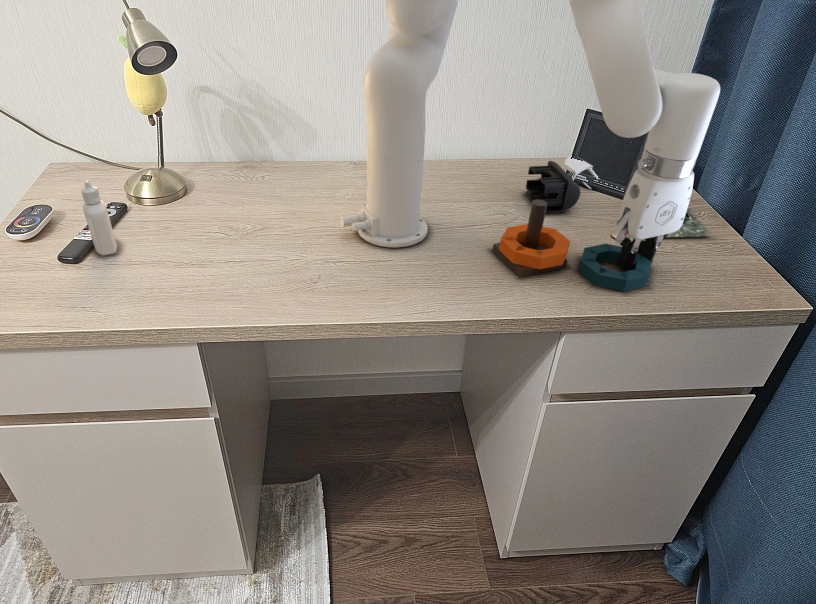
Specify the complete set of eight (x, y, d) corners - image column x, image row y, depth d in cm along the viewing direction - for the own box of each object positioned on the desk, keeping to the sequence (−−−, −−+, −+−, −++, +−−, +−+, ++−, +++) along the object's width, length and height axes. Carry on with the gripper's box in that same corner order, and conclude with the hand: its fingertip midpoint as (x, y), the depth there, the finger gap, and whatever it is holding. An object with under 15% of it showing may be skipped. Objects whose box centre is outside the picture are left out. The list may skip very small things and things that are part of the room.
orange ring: (522, 272, 98) (524, 261, 97) (489, 241, 106) (491, 229, 105) (578, 261, 102) (581, 250, 100) (543, 231, 109) (545, 220, 108)
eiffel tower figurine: (629, 202, 123) (648, 136, 115) (678, 202, 124) (701, 137, 116) (659, 239, 112) (683, 169, 103) (713, 239, 112) (741, 169, 104)
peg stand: (520, 277, 100) (531, 219, 94) (492, 251, 106) (500, 195, 100) (565, 267, 103) (579, 210, 96) (535, 242, 109) (547, 187, 103)
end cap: (576, 213, 119) (584, 180, 114) (541, 215, 118) (548, 182, 113) (556, 191, 126) (563, 159, 122) (523, 193, 125) (529, 161, 121)
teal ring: (607, 295, 97) (611, 284, 95) (566, 262, 104) (569, 250, 103) (660, 282, 100) (664, 271, 99) (617, 251, 108) (620, 240, 106)
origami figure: (602, 196, 125) (608, 173, 122) (562, 196, 124) (567, 173, 121) (581, 172, 135) (586, 150, 132) (544, 172, 134) (548, 150, 131)
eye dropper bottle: (87, 256, 101) (65, 188, 94) (99, 239, 106) (79, 173, 98) (113, 256, 101) (94, 189, 94) (124, 240, 106) (107, 174, 98)
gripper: (641, 180, 87) (608, 288, 98) (727, 165, 92) (686, 269, 103) (607, 160, 92) (579, 265, 104) (689, 147, 97) (655, 248, 109)
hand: (633, 266), depth 103 cm, fingers open, 3 cm apart
